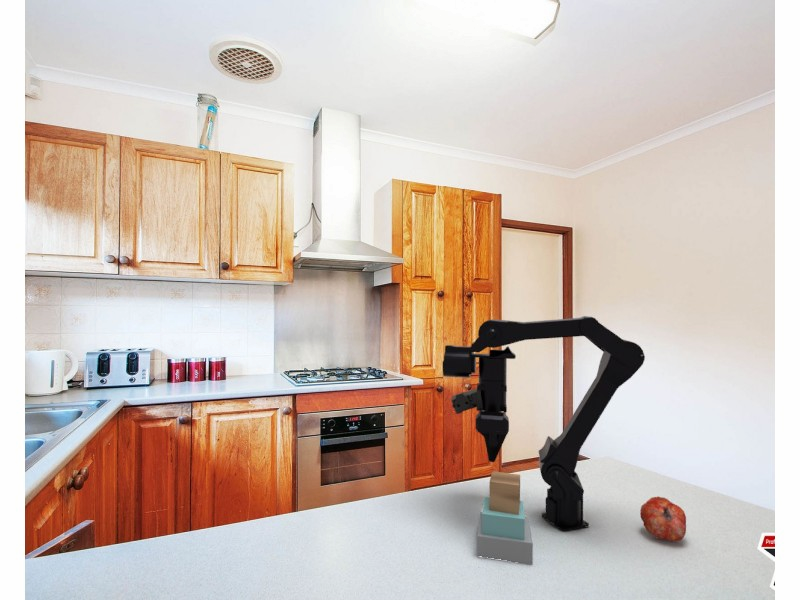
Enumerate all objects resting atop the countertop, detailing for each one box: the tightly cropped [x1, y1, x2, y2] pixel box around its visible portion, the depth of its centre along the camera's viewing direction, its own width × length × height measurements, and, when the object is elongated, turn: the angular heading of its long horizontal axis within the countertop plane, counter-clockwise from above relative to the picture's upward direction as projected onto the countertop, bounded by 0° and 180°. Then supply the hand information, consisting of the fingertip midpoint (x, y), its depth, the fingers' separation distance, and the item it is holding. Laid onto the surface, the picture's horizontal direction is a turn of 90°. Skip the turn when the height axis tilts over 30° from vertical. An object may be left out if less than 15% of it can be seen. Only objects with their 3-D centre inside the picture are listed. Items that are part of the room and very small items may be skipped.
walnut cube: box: [488, 471, 521, 515], centre depth 76 cm, size 5×5×5 cm
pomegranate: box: [639, 496, 687, 543], centre depth 79 cm, size 7×7×10 cm
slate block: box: [476, 511, 534, 566], centre depth 75 cm, size 9×9×4 cm
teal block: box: [481, 495, 525, 540], centre depth 75 cm, size 7×7×4 cm
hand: (491, 453), depth 88 cm, fingers open, 9 cm apart
